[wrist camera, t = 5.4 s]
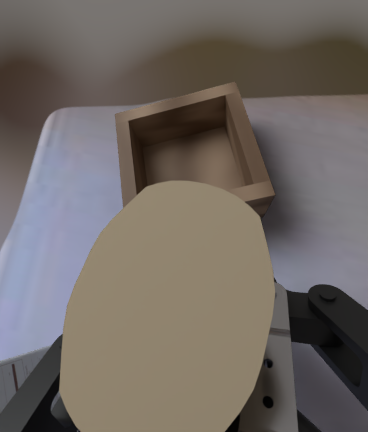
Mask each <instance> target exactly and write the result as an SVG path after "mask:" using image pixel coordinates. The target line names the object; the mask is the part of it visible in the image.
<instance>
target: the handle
mask: <svg viewBox="0 0 368 432" xmlns="http://www.w3.org/2000/svg"><path fill="white" fill-rule="evenodd" d="M274 299H275V286H274V276H273V269H272V264H271V260H270V255H269V251H268V246H267V242H266V238H265V234H264V231H263V227H262V223H261V219H260V216H259V215H258V214H257V213H256V212H255V211H254V210H253V209H252V208H251V207H250V206H249V205H248V204H246V203H245V202H244V201H243V200H241V199H240V198H239V197H237V196H235V195H233V194H231V193H229V192H227V191H225V190H223V189H221V188H217V187H214V186H211V185H208V184H205V183H199V182H193V181H167V182H161V183H157V184H154V185H150V186H147V187H145V188H144V189H143V190H142V191H141V192H140V193H139V194H138V195H137V196H136V197H135V198H134V199H133V200H131V201H130V202H129V203H128V204H127V205H126V206H125V207H124V208H123V209H122V210H121V211H120V212H119V213H118V214H117V215H116V216H115V217H114V218H113V219H112V220H111V221H110V222H109V223H108V225H107V226H106V227H105V228H104V229H103V231H102V232H101V233H100V235H99V236H98V238H97V240H96V242H95V243H94V245H93V247H92V249H91V251H90V253H89V255H88V257H87V259H86V262H85V264H84V266H83V268H82V270H81V273H80V275H79V277H78V279H77V281H76V283H75V286H74V288H73V291H72V294H71V297H70V299H69V302H68V305H67V310H66V316H65V321H64V327H63V340H62V352H61V369H60V386H59V393H60V395H61V398H62V400H63V403H64V405H65V408H66V410H67V412H68V413H69V415H70V417H71V419H72V421H73V422H74V424H75V426H76V427H77V428H78V429H79V430H80V431H81V432H225V431H226V430H227V428H228V427H229V426H230V424H231V423H232V422H233V421H234V419H235V418H236V417H237V416H238V414H239V413H240V412H241V410H242V408H243V407H244V405H245V403H246V402H247V400H248V398H249V397H250V395H251V393H252V392H253V390H254V387H255V384H256V381H257V378H258V375H259V372H260V369H261V366H262V362H263V357H264V353H265V348H266V344H267V339H268V335H269V330H270V325H271V321H272V316H273V308H274Z"/></svg>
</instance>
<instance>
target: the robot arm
mask: <svg viewBox="0 0 368 432" xmlns="http://www.w3.org/2000/svg"><path fill="white" fill-rule="evenodd" d="M274 286H275V299H274V308H273V316H272V321H271V325H270V330H269V335H268V339H267V344H266V348H265V353H264V357H263V362H262V366H261V369H260V372H259V375H258V378H257V381H256V384H255V387H254V390H253V392H252V393H251V395H250V397H249V398H248V400H247V402H246V403H245V405H244V407H243V408H242V410H241V412H240V413H239V414H238V416H237V417H236V418H235V419H234V421H233V422H232V423H231V424H230V426H229V427H228V428H227V430H226V431H225V432H321V431H320V430H319V429H318V428H317V427H316V426H315V425H314V424H313V423H312V422H310V421H309V420H308V419H307V418H306V417H305V416H304V415H303V414H302V413H301V412H299V411H298V410H297V409H296V397H295V385H294V372H293V360H292V348H291V341H292V342H298V343H305V344H311V345H312V347H313V348H314V349H315V350H316V351H317V353H318V354H319V355H320V356H321V357H322V358H323V359H324V361H325V362H326V363H327V364H328V365H329V366H330V368H331V369H332V370H333V371H334V372H335V373H336V375H337V376H338V377H339V378H340V379H341V380H342V382H343V383H344V384H345V385H346V386H347V387H348V388H349V390H350V391H351V392H352V393H353V394H354V395H355V397H356V398H357V399H358V400H359V401H360V402H361V404H362V405H363V406H364V407H365V408H366V409H367V411H368V310H367V309H365V308H364V307H363V306H362V305H360V304H359V303H358V302H356V301H355V300H354V299H352V298H351V297H350V296H348V295H347V294H346V293H344V292H343V291H341V290H340V289H338V288H336V287H334V286H331V285H325V284H320V285H315V286H313V287H311V288H310V289H309V291H308V293H299V292H291V291H288V290H286V289H285V288H284V287H283V286H282V285H280V284H278V283H277V282H276V280H275V278H274ZM62 340H63V334H62V335H61V336H59V337H58V338H57V339H56V341H55V342H54V343H53V344H52V346H51V347H50V348H49V350H48V351H47V352H46V354H45V355H44V356H43V358H42V359H41V360H40V362H39V363H38V364H37V365H36V367H35V368H34V369H33V371H32V372H31V373H30V375H29V376H28V377H27V379H26V380H25V381H24V383H23V384H22V385H21V387H20V388H19V389H18V391H17V392H16V393H15V395H14V396H13V397H12V399H11V400H10V401H9V403H8V404H7V405H6V406H5V408H4V409H3V410H2V412H1V413H0V432H77V430H78V428H77V427H76V426H75V424H74V422H73V421H72V419H71V417H70V415H69V413H68V412H67V410H66V408H65V405H64V403H63V400H62V398H61V395H60V397H59V399H58V400H57V402H56V404H55V405H54V407H53V409H52V410H51V405H52V402H53V400H54V398H55V396H56V395H57V393H58V391H59V386H60V369H61V352H62Z"/></svg>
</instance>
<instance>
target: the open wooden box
mask: <svg viewBox="0 0 368 432" xmlns="http://www.w3.org/2000/svg"><path fill="white" fill-rule="evenodd" d="M115 120H116V132H117V143H118V154H119V166H120V177H121V188H122V199H123V208H124V207H125V206H126V205H127V204H128V203H129V202H130V201H131V200H133V199H134V198H135V197H136V196H137V195H138V194H139V193H140V192H141V191H142V190H143V189H144V188H145V187H147V186H150V185H154V184H157V183H161V182H167V181H193V182H199V183H205V184H208V185H211V186H214V187H217V188H221V189H223V190H225V191H227V192H229V193H231V194H233V195H235V196H237V197H239V198H240V199H241V200H243V201H244V202H245V203H246V204H248V205H249V206H250V207H251V208H252V209H253V210H254V211H255V212H256V213H257V214H258V215H259V216H260V217H263V216H264V214H265V213H266V211H267V209H268V207H269V205H270V204H271V202H272V200H273V198H274V196H275V192H274V189H273V187H272V184H271V181H270V178H269V175H268V172H267V170H266V167H265V164H264V161H263V158H262V155H261V153H260V150H259V147H258V144H257V141H256V138H255V136H254V133H253V130H252V127H251V124H250V122H249V119H248V116H247V113H246V110H245V107H244V105H243V102H242V99H241V96H240V93H239V90H238V88H237V85H236V82H232V83H228V84H225V85H221V86H217V87H214V88H210V89H206V90H203V91H198V92H195V93H191V94H187V95H184V96H180V97H176V98H172V99H169V100H165V101H161V102H158V103H154V104H150V105H146V106H143V107H139V108H135V109H132V110H128V111H124V112H120V113H117V114H115Z"/></svg>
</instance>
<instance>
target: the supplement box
mask: <svg viewBox="0 0 368 432" xmlns="http://www.w3.org/2000/svg"><path fill="white" fill-rule="evenodd" d="M51 346H52V345H50V346H47V347H43V348H40V349H37V350H34V351H31V352H28V353H25V354H21V355H18V356H15V357H12V358H8V359H5V360H2V361H0V413H1V412H2V410H3V409H4V408H5V406H6V405H7V404H8V403H9V401H10V400H11V399H12V397H13V396H14V395H15V393H16V392H17V391H18V389H19V388H20V387H21V385H22V384H23V383H24V381H25V380H26V379H27V377H28V376H29V375H30V373H31V372H32V371H33V369H34V368H35V367H36V365H37V364H38V363H39V362H40V360H41V359H42V358H43V356H44V355H45V354H46V352H47V351H48V350H49V348H50V347H51ZM59 397H60V393H59V391H58V393H57V395H56V396H55V398H54V400H53V402H52V405H51V410H52V409H53V407H54V405H55V404H56V402H57V400H58V399H59ZM77 432H78V430H77Z"/></svg>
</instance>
